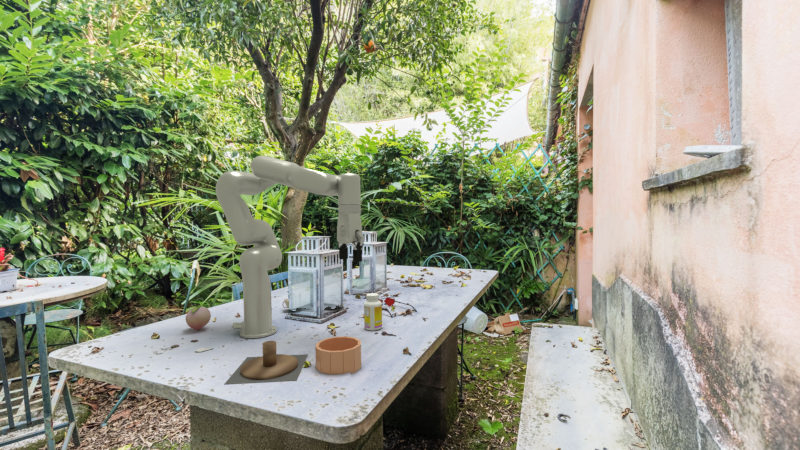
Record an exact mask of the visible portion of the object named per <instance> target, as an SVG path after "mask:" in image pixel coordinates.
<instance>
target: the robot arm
mask: <svg viewBox="0 0 800 450" xmlns="http://www.w3.org/2000/svg"><path fill="white" fill-rule="evenodd" d="M249 168H250V171H251V172H247V171H240V170H227V171H225V172H224V173H222V174H221V175H220V176H219V178H218V179H217V181H216V185H215V195H216V198H217V201H218V203H219V205H220V207H221V210H222V212H223V214H224V216H225V219H226V222H227V224H228V226H229V229H230V231H231V233H232V236H233V240H234V241H235V242H236V244H238V245H240V246H251V245H254V246H253V247H252V246H251V247H249V248H247V249H245V250H244V251H243V252H242V253H241V255H240V256H239V260H238V261H239V269H240V273H241V278H242V292H243V296H242V299H243V321H242V322H233V323H232V329H233V330H240V331H239V336H240V337H241V338H245V339H261V338H264V337H269V336H272V335H273V334H275V333H276V332H277V329H278V328H277V327H276V326H275V325H273V316H272V315H273V312H272V309H273V308H272V284H271V279H270V275H269V274H268V273H269V271H271V270H275V269H277V268H278V267H280V265H281V264H282V260H283V253H282V250H281V248H280V245H279V242H278V240H277V237H276V235H275V232H274V230H273V228H272V226H271V225H270V224H269V223H268V221H265V220H263V219H260V218H259V219H255V218H254V217H253V215H252V213H251V210H250V208H249V206H248V204H247V203H246V201H245V200H244V199H243V198H242V195H244V196H257V195H259V194H261V193H263V192H265V191H266V190H268V189H270V188H271V187H273V186H275V185H277V184H279V185H282V186H286V187H289V188H292V189H295V190H300V191H304V192H306V193H307V192H308V193H311V194H315V195H318V196H325V197H326V196H327V197H335V196H337V197H338V198H337V199H338V202H337V204H338V205H337V206H338V215H337V216H338V217H337V226H336V241H337V243H338V255H339V256H338V258H339V260H348V259H349V248H348V245H352V247H353V249H352V262H353V263H357V262H358V263H359V262H362V261H363V247H364V242H365V238H366V237H365V235H363V230H362V229H363V226H362V225H363V224H362V217H361V214H362V209H361V204H362V203H361V196H362V195H361V177H360V175H359V174H358V173H352V172H351V173H349V172H348V173H347V172H346V173H340V174H339V175H337V174H331V173H328V172H322V171H319V170H315V169H311V168H307V167H304V166H300V165H298V164H297V163H295V162H292V161H287V160H284V159H279V158H276V157H272V156H268V155H257V156H255V157H254V158H253V159H252V160H251V162H250V167H249Z"/></svg>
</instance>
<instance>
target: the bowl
mask: <svg viewBox="0 0 800 450" xmlns="http://www.w3.org/2000/svg"><path fill="white" fill-rule="evenodd" d="M314 351H315V369H316V370H317V371H319V372H320V373H323V374H328V375H342V374H343V375H344V374H347V373H350V375H352V374H355V373H356V372H358V371H359V370H361V368H362V341H361V339H359V338H357V337H353V336H343V335H342V336H332V337H328V338H324V339H321V340H319V341H317V342H316V344H315V350H314Z"/></svg>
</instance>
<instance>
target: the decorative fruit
mask: <svg viewBox="0 0 800 450" xmlns="http://www.w3.org/2000/svg"><path fill="white" fill-rule="evenodd" d="M211 317H212V314H211V311H210V310H209V309H208V308H207V307H205V306H203V305H199V304H198V303H196V306H194V307H192V308H191V309H189V311H188V312H187V314H186V316H185V323H186V324H187V326H188V327H189V328H190V329H192V330H195V331H200V330H201V329H202V328H204V327H205V326H207V324H208V323H210V320H211Z"/></svg>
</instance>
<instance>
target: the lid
mask: <svg viewBox="0 0 800 450" xmlns="http://www.w3.org/2000/svg"><path fill="white" fill-rule="evenodd" d="M291 355H292V354H285V353H283V354H282V353H277V341H276V340H267V341H264V342H263V343H262V355H261V356H256V357H257V358H254V359H252V360H250V361H248V362H246V363H244V364H243V365H242V366H241V375H242V376H243V377H245V378H247V379H252V380H267V379H273V378H278V377H281V376H284V375H287V374H289V373H291V372H292V371H294V370H295V369H296V368H297V367H298V360H297V358H296V357H294V356H291Z"/></svg>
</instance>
